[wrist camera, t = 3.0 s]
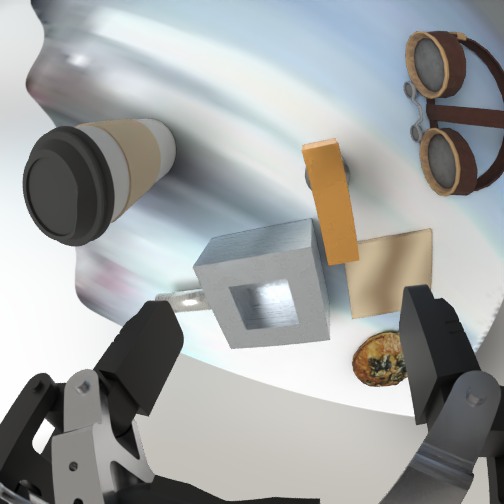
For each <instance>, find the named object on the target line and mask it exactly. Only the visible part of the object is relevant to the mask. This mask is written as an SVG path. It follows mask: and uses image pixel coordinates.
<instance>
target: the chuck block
mask: <svg viewBox="0 0 504 504" xmlns="http://www.w3.org/2000/svg"><path fill="white" fill-rule="evenodd" d="M193 269H194V271H195V273H196V276H197V278H198V280H199V282H200V285H201V287H202V289H195V290H188V291H180V292H172V293H164V294H158V295H157V296H156V298H155V301H163V300H166V301H168V302H169V303H170V305H171V307H172V309H173V311H174V313H177V312H189V311H200V310H210V309H212V310H213V313H214V315H215V317H216V319H217V321H218V323H219V325H220V327H221V329H222V331H223V333H224V335H225V337H226V339H227V341H228V343H229V346H230V348H231V349H236V348H252V347H266V346H278V345H289V344H299V343H308V342H317V341H325V340H330V309H329V299H328V294H327V289H326V283H325V278H324V273H323V269H322V264H321V259H320V254H319V250H318V245H317V240H316V236H315V231H314V227H313V223H312V218H310V219H305V220H300V221H295V222H289V223H284V224H279V225H274V226H269V227H264V228H259V229H254V230H249V231H244V232H239V233H234V234H229V235H225V236H220V237H215V238H212V239H211V240H210V242H209V243H208V245H207V246H206V248H205V249H204V251H203V252H202V254H201V255H200V257H199V258H198V260H197V261H196V263H195V264H194V266H193Z"/></svg>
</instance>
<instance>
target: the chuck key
mask: <svg viewBox="0 0 504 504" xmlns="http://www.w3.org/2000/svg"><path fill="white" fill-rule="evenodd" d="M302 153H303V157H304V161H305V164H306V168H305V179H306V183H307V185H308V187H309V188H310V189H311V190H312V192H313V197H314V201H315V205H316V209H317V214H318V218H319V223H320V227H321V232H322V237H323V241H324V246H325V251H326V256H327V261H328V266H330V265H336V264H342V263H348V262H354V261H359V252H358V245H357V238H356V231H355V225H354V219H353V213H352V207H351V202H350V196H349V191H348V186H347V185H348V183H349V180H350V172H349V168H348V166H347V164H346V162H345V160H344V159H343V158H342V156H341V153H340V149H339V144H338V142H337V140H336V139H335V138H333V139H328V140H323V141H318V142H314V143H309V144H304V145H303V146H302Z"/></svg>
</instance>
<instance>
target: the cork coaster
mask: <svg viewBox="0 0 504 504" xmlns="http://www.w3.org/2000/svg"><path fill="white" fill-rule="evenodd" d="M357 245H358V252H359V261H354V262H348V263H345V269H346V276H347V282H348V289H349V297H350V304H351V312H352V319H357V318H363V317H369V316H375V315H381V314H386V313H392V312H397V311H401V306H402V297H403V290H404V287H405V286H414V285H422V284H427V285H428V286H429V288H430V290H431V271H432V231H431V229H425V230H420V231H414V232H409V233H403V234H398V235H392V236H386V237H381V238H375V239H370V240H364V241H358V242H357Z"/></svg>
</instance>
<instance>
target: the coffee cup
mask: <svg viewBox="0 0 504 504" xmlns="http://www.w3.org/2000/svg"><path fill="white" fill-rule="evenodd" d="M175 156H176V145H175V140H174V137H173V135H172V133H171V131H170V130H169V129H168V127H167V126H166V125H164V124H163V123H162V122H160V121H158V120H155V119H136V120H132V119H120V120H110V121H102V122H94V123H86V124H80V125H77V126H75V127H70V126H61V127H57V128H55V129H53V130H51V131H49V132H48V133H46V134H44V135H43V136H42V137H41V138H40V139H39V140H38V141H37V142H36V144H35V145H34V147H33V149H32V151H31V153H30V156H29V159H28V161H27V163H26V166H25V169H24V174H23V194H24V199H25V203H26V206H27V209H28V211H29V214H30V216H31V217H32V219H33V221H34V223H35V224H36V225H37V227H38V228H39V229H40V230H41V231H42V232H43V233H44V234H45V235H46V236H48V237H50V238H51V239H54V240H57V241H59V242H60V243H62V244H65V245H69V246H82V245H85V244H87V243H88V242H90V241H93V240H95V239H97V238H99V237H100V236H101V235H102V234H103V233H104V232H105V231H106V229H107V228H108V226H109V224H110V223H112V222H114V221H116V220H117V219H118V218H119V217H120V216H121V215H122V214H123V213H124V212H125V211H127V210H128V209H129V208H130V207H131V206H132V205H133V204H134V203H135V202H136V201H137V200H138V199H139V198H141V197H142V196H143V195H144V194H145V193H146V192H147V191H148V190H149V189H150V188H151V187H152V186H153V185H154V184H155V183H156V182H157V181H158V180H159V179H161V178H162V177H163V176H164V175H165V174H167V173H168V171H169V170H170V169H171V167H172V165H173V163H174V160H175Z"/></svg>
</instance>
